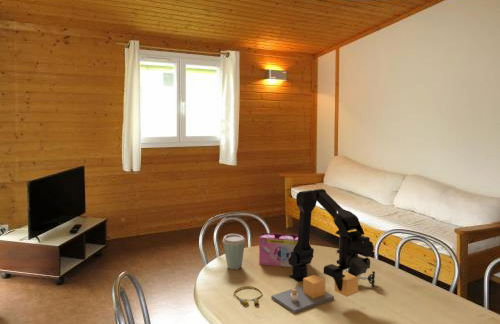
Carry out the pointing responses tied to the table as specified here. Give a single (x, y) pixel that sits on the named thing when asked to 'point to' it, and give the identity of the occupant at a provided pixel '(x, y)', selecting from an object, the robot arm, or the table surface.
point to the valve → (370, 277)
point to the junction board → (304, 295)
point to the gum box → (276, 248)
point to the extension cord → (252, 299)
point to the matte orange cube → (348, 285)
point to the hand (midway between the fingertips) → (346, 288)
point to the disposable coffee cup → (234, 250)
